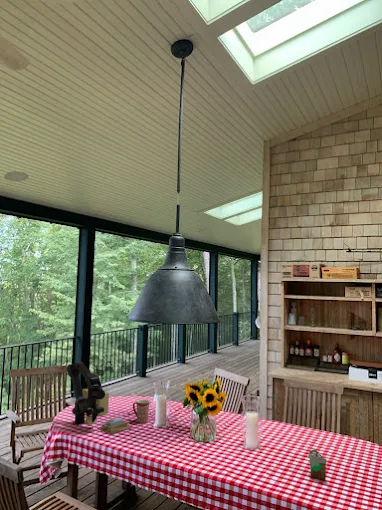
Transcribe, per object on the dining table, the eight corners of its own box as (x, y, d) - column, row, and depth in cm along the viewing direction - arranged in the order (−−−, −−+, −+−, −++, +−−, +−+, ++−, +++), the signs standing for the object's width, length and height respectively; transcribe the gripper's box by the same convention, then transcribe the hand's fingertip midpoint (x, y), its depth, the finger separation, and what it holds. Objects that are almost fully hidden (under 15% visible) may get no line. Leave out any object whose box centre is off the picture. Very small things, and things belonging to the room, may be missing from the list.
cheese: (76, 411, 287) (77, 389, 288) (86, 408, 295) (87, 387, 296) (98, 416, 275) (99, 394, 276) (108, 413, 283) (109, 391, 284)
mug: (151, 421, 268) (152, 400, 269) (143, 424, 260) (143, 403, 262) (137, 417, 275) (138, 397, 276) (128, 421, 267) (129, 400, 269)
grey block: (106, 428, 250) (106, 420, 251) (119, 424, 258) (119, 416, 258) (110, 430, 247) (110, 421, 248) (123, 426, 255) (123, 418, 255)
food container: (304, 469, 200) (304, 448, 201) (316, 469, 200) (316, 448, 201) (314, 481, 188) (313, 459, 189) (326, 481, 188) (326, 459, 189)
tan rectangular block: (85, 423, 251) (85, 416, 252) (92, 421, 256) (92, 414, 256) (89, 425, 249) (89, 417, 249) (96, 423, 253) (96, 415, 253)
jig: (97, 429, 251) (97, 424, 251) (117, 423, 263) (117, 418, 263) (111, 434, 242) (112, 429, 242) (131, 428, 254) (131, 423, 254)
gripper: (72, 395, 254) (71, 421, 252) (90, 401, 242) (89, 428, 240) (87, 392, 262) (86, 417, 261) (105, 398, 250) (104, 423, 249)
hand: (91, 421), depth 252 cm, fingers closed on tan rectangular block, 4 cm apart
